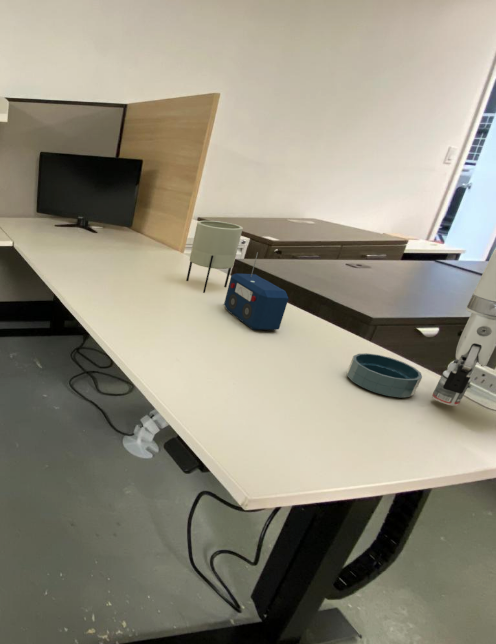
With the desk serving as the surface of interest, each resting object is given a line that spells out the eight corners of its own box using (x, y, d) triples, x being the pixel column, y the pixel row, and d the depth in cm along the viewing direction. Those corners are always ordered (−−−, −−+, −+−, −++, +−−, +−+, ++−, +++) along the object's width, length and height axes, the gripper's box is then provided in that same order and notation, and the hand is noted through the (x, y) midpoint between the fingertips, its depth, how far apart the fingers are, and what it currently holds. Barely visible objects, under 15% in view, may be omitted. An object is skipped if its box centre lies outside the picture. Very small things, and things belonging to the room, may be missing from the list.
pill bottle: (449, 396, 104) (467, 363, 101) (463, 407, 100) (482, 373, 96) (426, 393, 105) (442, 360, 101) (439, 404, 100) (456, 370, 97)
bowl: (427, 397, 105) (436, 378, 103) (380, 401, 102) (389, 381, 100) (376, 370, 117) (384, 352, 115) (333, 372, 114) (340, 354, 112)
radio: (219, 307, 153) (234, 247, 145) (244, 307, 154) (260, 248, 146) (252, 332, 135) (271, 265, 126) (280, 333, 136) (301, 266, 127)
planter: (236, 293, 168) (253, 229, 159) (195, 293, 166) (210, 228, 156) (215, 281, 182) (230, 221, 172) (177, 280, 179) (190, 219, 170)
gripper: (521, 323, 85) (475, 407, 93) (515, 303, 97) (474, 379, 104) (468, 311, 89) (428, 393, 97) (469, 294, 101) (433, 367, 109)
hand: (452, 385), depth 101 cm, fingers closed on pill bottle, 4 cm apart
